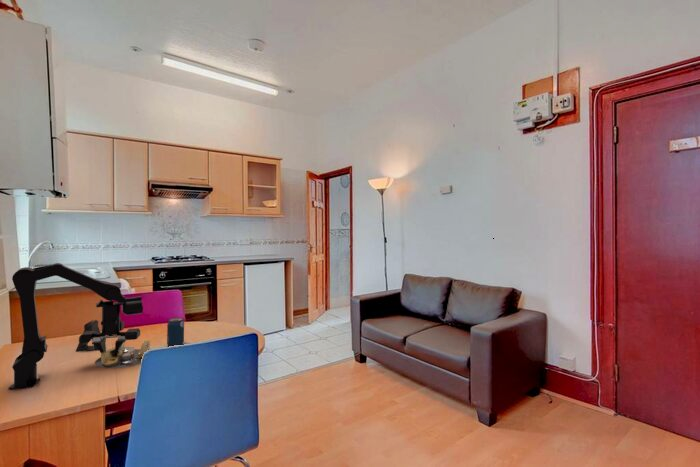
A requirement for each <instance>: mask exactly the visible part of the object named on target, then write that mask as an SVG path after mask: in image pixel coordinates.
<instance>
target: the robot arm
mask: <svg viewBox="0 0 700 467" xmlns="http://www.w3.org/2000/svg"><path fill="white" fill-rule="evenodd" d="M55 276H56V277H59V278H62V279H64V280H66V281H68V282H72V283H75V284H76V285H79V286H81V287H84V288H86V289H89V290H90V291H93V292H94V293H95V294H97V295H98V296H99V297H101V298H102V299H99V301H98V302H97V303H95V307H96V308H101V321H100V325H101V333H97V331H86V332H84V331H83V332H84V333H82V334H81V335H80V336H79V337H78V344H79V343H88V344H89V343H90V342H91V341H92V339H93V341H92V342H91V345H93V344H95V346H96V347H97V348H98V349H99V351H98V352H100V354H101V352H104V351H107V344H106V341H107V339H112V338H117V340H116V341H115V343H114V347H115V358H116V357H117V356H118V353H119V351H120V348H121V345H122V344H123V342H126V341H131V340H134V341H135V340H137V339H139V337H140V336H141V329H140V328H137V327H136V328H128V329H127V330H126V331H124V328H125V321H122V317H121V313H122V314H124V315H125V316H132V315H141V314H143V311H144V305H143V298H142V296H139V295H138V296H134V297H126V296H125V295H123V294H122V292H121V288H120V287H119V286H118V284H116V283H113V282H110V281H106V280H105V281H104V280H101V279H97V278H93V277H91V276H89V275H87V274H85V273H81V272H79V271H77V270H75V269H72V268H70V267H68V266H65V265H64V264H62V263H59V262H56V263H53V264H50V265H49V264H48V265H43V266H38V267H33V268H32V267H28V266H27V267H21V268H19V269H17V270H16V272H14V273H13V275H12V276H11V278H12V279H11V280H12V283H13V285H14V289H15V290H16V293H17V295H18V297H19V304H20V313H21V321H22V330H23V342H22V348H21V354H19V355H18V356H17V357H16V358H15V359H14V362H13V365H12V367H11V368H12V370H13V384H11V385H10V386H9V387H8V389H7V390H15V389H16V390H17V389H29V388H33V387H34V386H36V385H37V384H38V383H39V382H40V381H41V378H38V376H37V375H38V364H37V363H38V362H40V361H42V359H43V358H44V357H45V353H47V352H48V346H49V345H47V335H44V336H42V335H41V333H40V330H39V320H38V313H37V312H38V311H37V303H36V288H37V281H41V280H45V279H48V278H51V277H55ZM103 299H105V300H106V301H105V300H103ZM114 301H115V302H114Z"/></svg>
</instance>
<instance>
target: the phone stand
mask: <svg viewBox="0 0 700 467" xmlns="http://www.w3.org/2000/svg"><path fill="white" fill-rule="evenodd" d="M83 328H84V330H83V333H84V332H86V331H97V333H102V331H101V330H100V326H99V321H98V319H95V320H94V319H92V320H90V321H89V322H87V323H85V324H84V326H83ZM83 333H82V334H83ZM91 341H92V342H93V339H91ZM88 344H89V342H88V343H79V342H78V344H77V346H76V349H75V352H93V351H98V352H100V351H99V349H98V348H97V347H96V346H95V344H92V345H88Z"/></svg>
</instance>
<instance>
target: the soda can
mask: <svg viewBox="0 0 700 467" xmlns="http://www.w3.org/2000/svg"><path fill="white" fill-rule="evenodd" d="M166 326H167V328H166V345H167V346H168V347H169V346H174V345H184V343H185V322H184V318H182V317H173V318H169V320H168V322H167V325H166Z"/></svg>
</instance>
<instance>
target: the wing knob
mask: <svg viewBox="0 0 700 467" xmlns="http://www.w3.org/2000/svg"><path fill="white" fill-rule="evenodd" d="M119 356H120V351H119V353H118V356H117V357H116V358H115V346H114V347H112V348H110V349H106V351H104V352H101V353H100V357H101V362H102V366H103V367H111V366H115V365H117V364H118V357H119Z"/></svg>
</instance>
